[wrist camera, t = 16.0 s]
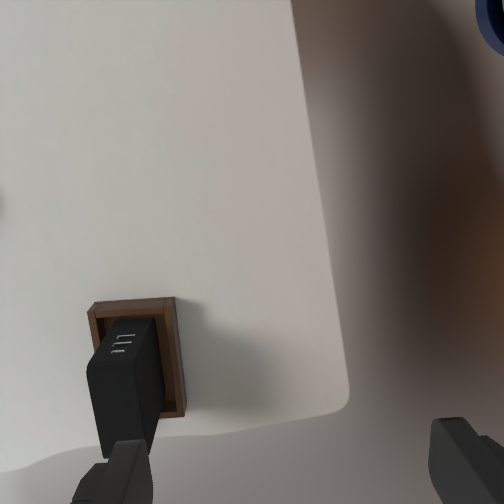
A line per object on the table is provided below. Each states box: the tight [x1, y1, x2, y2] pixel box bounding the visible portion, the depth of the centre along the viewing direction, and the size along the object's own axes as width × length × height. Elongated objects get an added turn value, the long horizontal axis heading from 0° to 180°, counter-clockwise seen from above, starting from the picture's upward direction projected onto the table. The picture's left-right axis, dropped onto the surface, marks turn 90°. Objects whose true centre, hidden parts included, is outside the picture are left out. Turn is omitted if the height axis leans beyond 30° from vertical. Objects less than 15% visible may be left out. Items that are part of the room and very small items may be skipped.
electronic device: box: [86, 317, 165, 459], centre depth 41 cm, size 4×10×10 cm, turn 3°
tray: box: [87, 297, 187, 419], centre depth 45 cm, size 9×14×2 cm, turn 3°
